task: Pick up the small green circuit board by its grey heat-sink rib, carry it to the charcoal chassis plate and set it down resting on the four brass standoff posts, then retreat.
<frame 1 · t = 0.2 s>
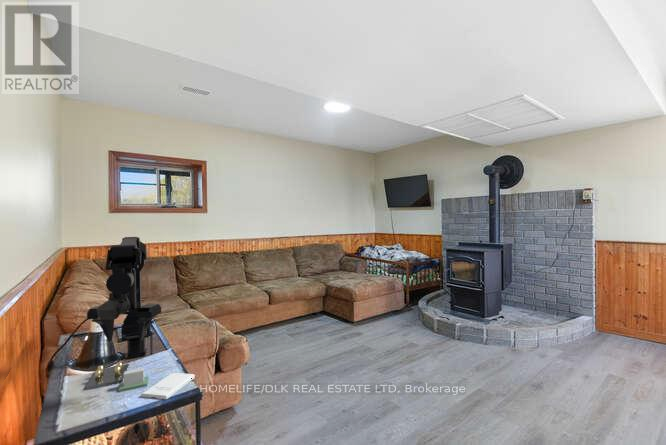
hand: (125, 340, 94), 14 cm above the table, fingers open, 9 cm apart
external hard drive: (169, 389, 94), on the table
board: (134, 386, 95), on the table
chassis: (109, 377, 101), on the table
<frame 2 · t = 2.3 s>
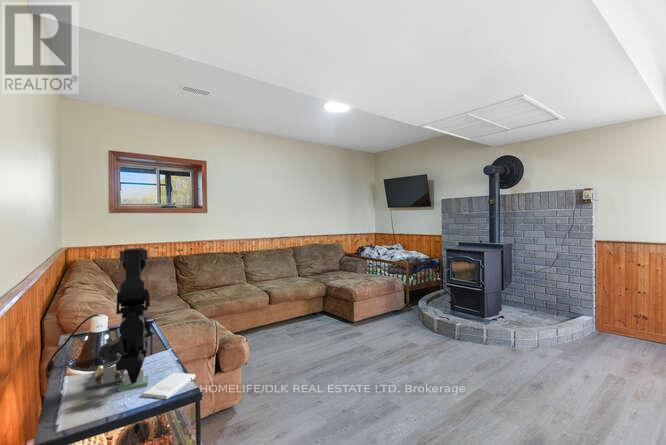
hand: (134, 381, 95), 1 cm above the table, fingers closed on board, 2 cm apart
board: (134, 385, 95), on the table, touching gripper
everything else where it was.
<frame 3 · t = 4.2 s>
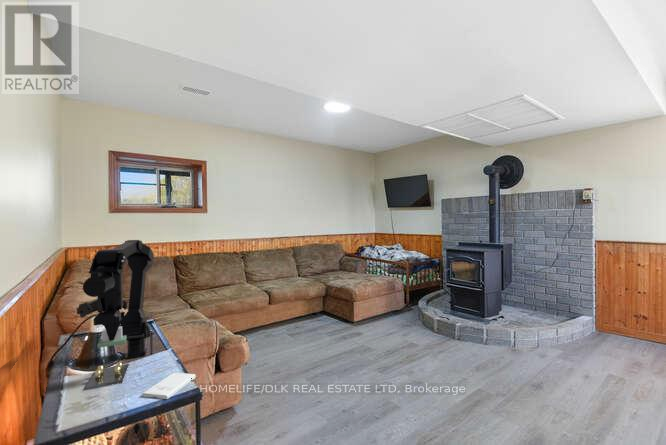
hand: (112, 338, 100), 12 cm above the table, fingers closed on board, 2 cm apart
board: (112, 342, 100), point 11 cm above the table, touching gripper
everything else where it was.
when the fingers open (6 cm above the table, at t = 5.8 s): board stays where it is, resting on chassis.
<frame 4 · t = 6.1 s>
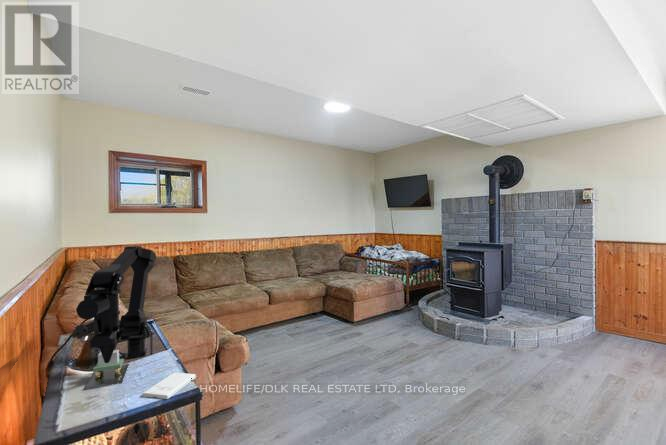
hand: (108, 359, 101), 5 cm above the table, fingers open, 5 cm apart
board: (108, 366, 101), point 3 cm above the table, touching chassis
everything else where it was.
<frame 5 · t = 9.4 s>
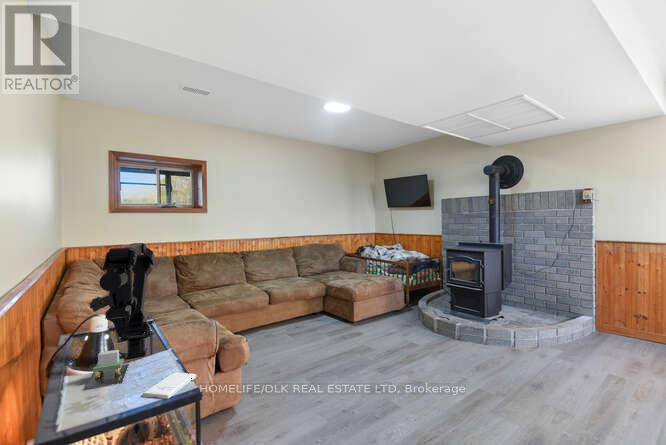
hand: (122, 332, 105), 13 cm above the table, fingers open, 9 cm apart
nothing on the table moved.
at the end: board 0.0 cm off-centre on the chassis, point 3.3 cm above the chassis's base; board tilted 0°; the gripper is holding nothing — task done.
